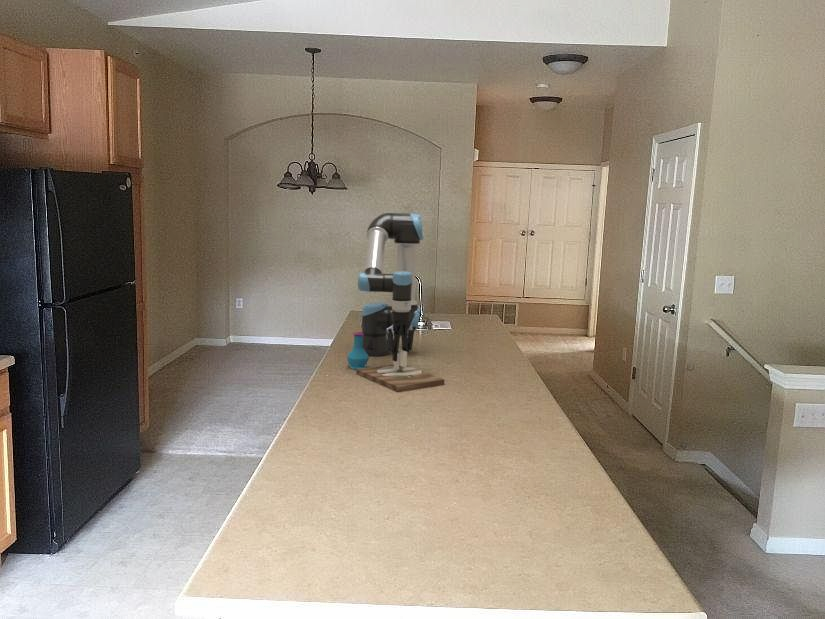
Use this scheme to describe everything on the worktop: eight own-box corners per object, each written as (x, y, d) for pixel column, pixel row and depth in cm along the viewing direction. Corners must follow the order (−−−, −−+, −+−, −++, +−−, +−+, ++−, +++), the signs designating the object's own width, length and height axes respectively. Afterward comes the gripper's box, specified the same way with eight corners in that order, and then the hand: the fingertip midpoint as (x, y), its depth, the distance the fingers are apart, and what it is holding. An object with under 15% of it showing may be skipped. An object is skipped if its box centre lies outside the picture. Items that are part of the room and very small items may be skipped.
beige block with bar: (375, 372, 263) (375, 350, 262) (397, 369, 269) (397, 348, 268) (384, 376, 257) (385, 354, 256) (406, 373, 263) (407, 351, 262)
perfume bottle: (370, 365, 283) (371, 331, 281) (366, 370, 274) (367, 335, 272) (349, 364, 284) (349, 330, 281) (344, 369, 275) (345, 334, 272)
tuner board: (356, 373, 268) (356, 368, 268) (401, 367, 281) (401, 362, 280) (397, 392, 244) (397, 385, 244) (444, 384, 257) (444, 378, 256)
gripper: (390, 313, 254) (388, 372, 258) (422, 310, 263) (420, 368, 267) (379, 310, 260) (378, 368, 264) (411, 308, 269) (409, 364, 273)
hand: (399, 368), depth 265 cm, fingers closed on beige block with bar, 2 cm apart
